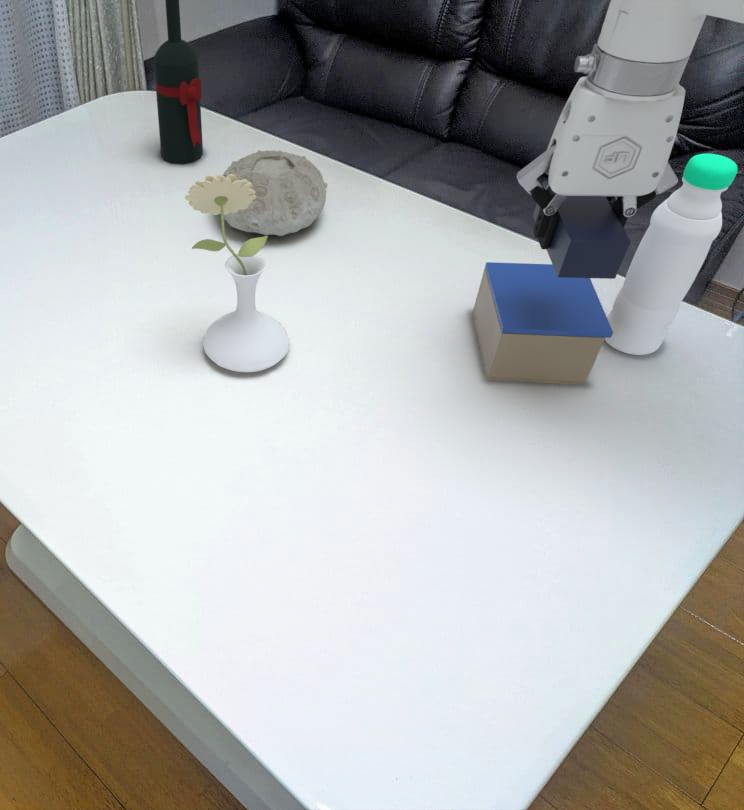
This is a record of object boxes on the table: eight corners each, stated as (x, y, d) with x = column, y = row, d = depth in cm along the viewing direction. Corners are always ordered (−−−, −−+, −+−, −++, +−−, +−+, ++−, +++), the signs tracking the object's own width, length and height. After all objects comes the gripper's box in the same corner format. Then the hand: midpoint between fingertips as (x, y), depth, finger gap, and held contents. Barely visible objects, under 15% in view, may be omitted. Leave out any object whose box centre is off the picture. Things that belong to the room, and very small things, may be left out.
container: (559, 318, 100) (577, 270, 94) (583, 386, 90) (605, 338, 85) (471, 314, 101) (484, 267, 96) (486, 382, 92) (501, 333, 86)
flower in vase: (298, 333, 100) (309, 160, 82) (275, 388, 92) (282, 210, 75) (208, 316, 103) (200, 146, 86) (179, 367, 96) (164, 193, 78)
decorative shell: (292, 262, 112) (295, 203, 105) (194, 232, 119) (191, 174, 112) (342, 209, 122) (348, 152, 115) (250, 184, 130) (250, 129, 123)
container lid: (582, 270, 94) (584, 265, 94) (611, 338, 85) (613, 332, 84) (484, 267, 96) (486, 261, 95) (501, 333, 86) (503, 327, 86)
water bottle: (648, 324, 98) (737, 146, 81) (666, 359, 93) (764, 177, 76) (593, 322, 99) (669, 145, 81) (608, 357, 94) (692, 176, 76)
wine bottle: (180, 175, 133) (168, -8, 112) (153, 154, 139) (137, -23, 118) (217, 163, 136) (212, -18, 114) (189, 143, 142) (179, -32, 121)
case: (532, 216, 83) (543, 180, 80) (584, 217, 83) (597, 181, 80) (557, 277, 75) (571, 240, 72) (615, 278, 74) (631, 241, 71)
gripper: (545, 86, 64) (496, 261, 77) (755, 85, 62) (669, 264, 75) (527, 54, 70) (484, 223, 82) (720, 53, 68) (645, 225, 81)
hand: (573, 241), depth 79 cm, fingers closed on case, 5 cm apart
